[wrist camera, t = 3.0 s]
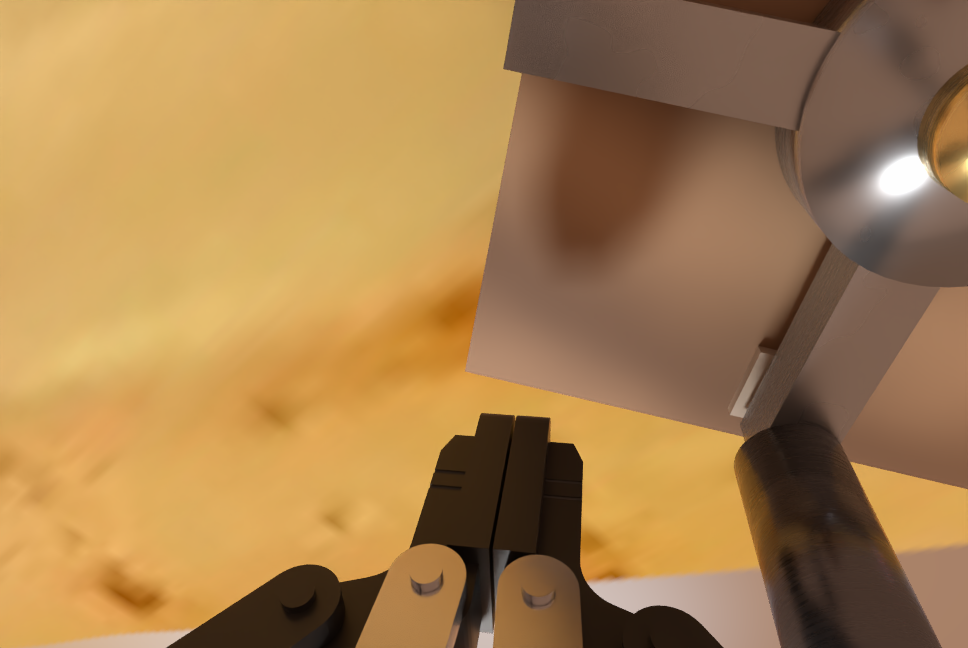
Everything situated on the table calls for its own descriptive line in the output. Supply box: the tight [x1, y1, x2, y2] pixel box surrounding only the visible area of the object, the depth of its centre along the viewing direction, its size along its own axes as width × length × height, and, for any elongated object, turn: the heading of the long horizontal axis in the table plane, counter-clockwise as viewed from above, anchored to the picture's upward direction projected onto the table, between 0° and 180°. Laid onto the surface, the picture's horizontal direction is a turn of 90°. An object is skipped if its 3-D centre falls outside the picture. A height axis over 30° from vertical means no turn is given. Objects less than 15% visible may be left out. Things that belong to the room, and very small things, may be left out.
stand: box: [465, 0, 968, 489], centre depth 13 cm, size 18×16×2 cm
